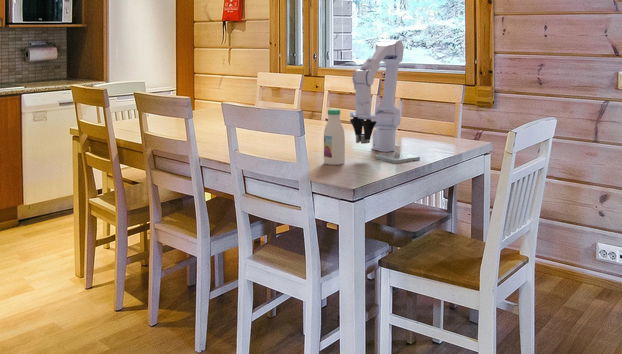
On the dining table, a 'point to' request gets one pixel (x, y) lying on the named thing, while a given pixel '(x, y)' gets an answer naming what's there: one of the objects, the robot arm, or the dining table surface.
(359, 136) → the split ring
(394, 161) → the stand
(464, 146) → the dining table surface
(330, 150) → the milk bottle
